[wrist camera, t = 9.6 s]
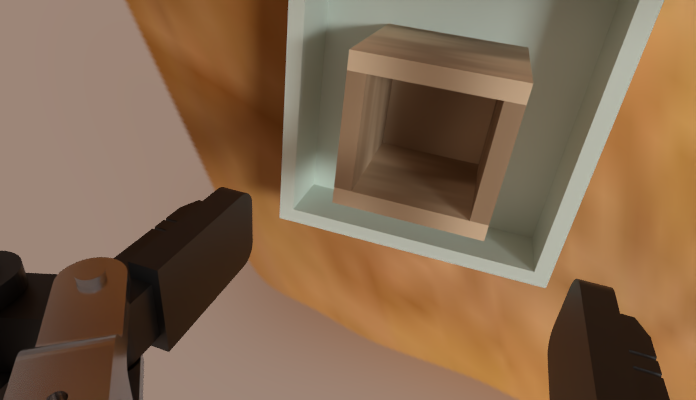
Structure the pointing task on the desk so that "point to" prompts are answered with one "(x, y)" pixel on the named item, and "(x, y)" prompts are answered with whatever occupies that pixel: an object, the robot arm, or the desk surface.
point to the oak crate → (430, 126)
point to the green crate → (532, 139)
